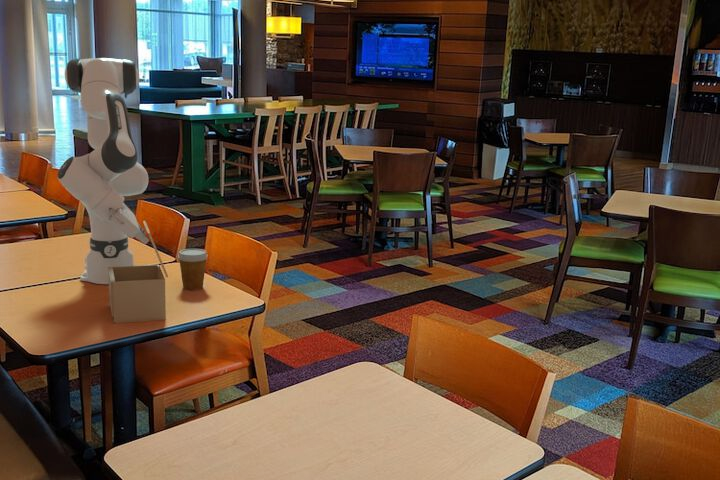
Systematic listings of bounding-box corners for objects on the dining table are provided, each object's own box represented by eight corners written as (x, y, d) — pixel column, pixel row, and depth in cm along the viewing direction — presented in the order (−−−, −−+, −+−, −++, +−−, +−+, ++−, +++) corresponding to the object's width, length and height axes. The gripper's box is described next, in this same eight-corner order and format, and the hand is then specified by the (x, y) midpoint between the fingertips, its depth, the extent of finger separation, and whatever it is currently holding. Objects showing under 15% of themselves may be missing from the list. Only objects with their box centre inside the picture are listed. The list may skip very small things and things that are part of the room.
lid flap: (142, 221, 222) (144, 220, 222) (160, 263, 227) (162, 262, 227) (147, 233, 208) (150, 232, 208) (166, 277, 213) (168, 276, 213)
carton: (109, 305, 225) (108, 267, 222) (159, 302, 230) (158, 264, 227) (112, 323, 210) (110, 282, 207) (165, 319, 215) (165, 279, 213)
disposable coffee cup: (193, 281, 252) (193, 246, 250) (213, 287, 247) (213, 251, 244) (171, 287, 245) (171, 251, 242) (192, 293, 239) (191, 257, 237)
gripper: (119, 204, 201) (157, 238, 207) (115, 191, 220) (150, 222, 225) (102, 221, 200) (141, 255, 206) (99, 206, 219) (135, 237, 225)
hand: (145, 238), depth 216 cm, fingers open, 8 cm apart
